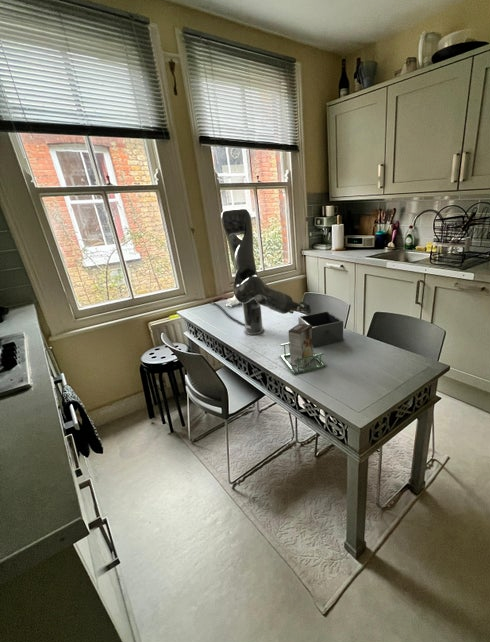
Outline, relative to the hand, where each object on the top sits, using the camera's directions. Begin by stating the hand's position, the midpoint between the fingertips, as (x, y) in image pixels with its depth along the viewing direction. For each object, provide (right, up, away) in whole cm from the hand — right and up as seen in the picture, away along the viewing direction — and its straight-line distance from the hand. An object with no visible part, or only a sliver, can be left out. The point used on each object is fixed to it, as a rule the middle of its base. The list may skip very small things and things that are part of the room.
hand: (301, 311), depth 132 cm
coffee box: (0, -22, +5) cm, 22 cm away
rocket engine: (-43, +12, +84) cm, 95 cm away
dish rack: (0, -22, +5) cm, 22 cm away
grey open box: (+10, -11, +27) cm, 31 cm away
